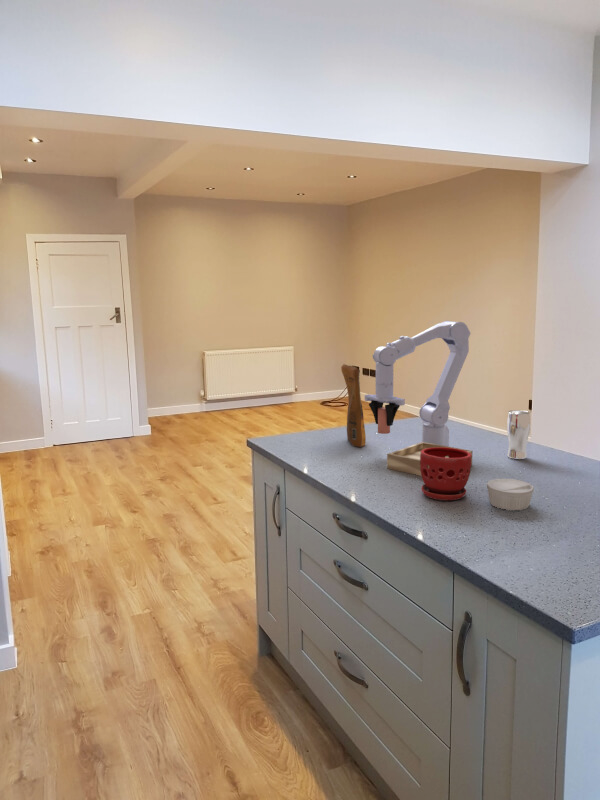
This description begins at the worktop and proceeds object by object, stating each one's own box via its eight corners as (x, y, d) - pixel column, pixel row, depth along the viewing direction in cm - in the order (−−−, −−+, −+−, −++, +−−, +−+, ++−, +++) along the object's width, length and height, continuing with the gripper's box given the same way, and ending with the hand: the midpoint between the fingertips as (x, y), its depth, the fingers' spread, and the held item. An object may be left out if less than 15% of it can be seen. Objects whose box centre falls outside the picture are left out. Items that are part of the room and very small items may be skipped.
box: (421, 455, 203) (422, 441, 202) (472, 464, 191) (472, 450, 190) (387, 468, 188) (387, 454, 188) (439, 479, 176) (439, 464, 175)
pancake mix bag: (350, 449, 212) (350, 368, 207) (340, 436, 230) (340, 362, 226) (369, 448, 212) (369, 368, 208) (358, 435, 231) (358, 361, 226)
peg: (382, 430, 205) (382, 406, 203) (392, 432, 202) (392, 408, 201) (375, 432, 202) (375, 408, 201) (385, 434, 199) (385, 410, 198)
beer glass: (504, 459, 196) (506, 413, 194) (506, 453, 203) (508, 409, 200) (528, 461, 194) (530, 414, 191) (528, 455, 200) (531, 410, 198)
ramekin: (527, 515, 148) (528, 495, 147) (480, 508, 153) (481, 487, 153) (536, 502, 157) (537, 482, 156) (492, 495, 163) (493, 476, 162)
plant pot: (467, 506, 155) (469, 460, 153) (415, 500, 159) (416, 455, 157) (472, 490, 167) (473, 447, 165) (423, 485, 171) (424, 443, 169)
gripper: (359, 383, 201) (359, 423, 204) (396, 387, 191) (395, 429, 194) (371, 380, 206) (371, 420, 209) (408, 384, 197) (408, 425, 199)
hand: (384, 424), depth 202 cm, fingers closed on peg, 4 cm apart
